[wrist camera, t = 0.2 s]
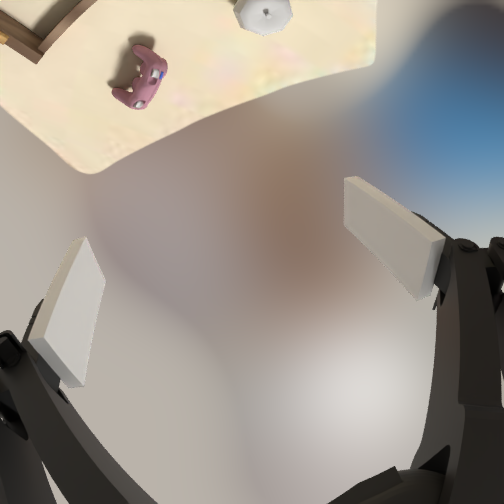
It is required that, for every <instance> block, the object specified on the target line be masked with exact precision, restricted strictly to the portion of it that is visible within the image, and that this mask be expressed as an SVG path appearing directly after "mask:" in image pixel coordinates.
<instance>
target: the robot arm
mask: <svg viewBox="0 0 504 504" xmlns="http://www.w3.org/2000/svg"><path fill="white" fill-rule="evenodd" d="M344 226H345V227H346V228H347V229H348V230H349V231H351V233H353V234H354V235H355V236H356V237H357V238H358V239H359V240H360V241H361V242H362V243H363V244H364V245H365V246H366V247H367V248H368V249H369V250H370V252H372V254H373V255H374V256H375V257H376V258H378V260H379V261H380V262H381V263H382V264H383V265H384V266H385V267H386V268H387V269H388V270H389V271H390V272H391V273H392V274H393V275H394V276H395V278H397V280H398V281H399V282H400V283H401V284H402V285H403V286H404V287H405V288H406V289H407V291H408V292H409V293H410V294H411V295H412V296H413V297H414V298H415V299H416V301H418V300H421V299H423V298H425V297H428V296H430V295H431V292H432V288H433V285H434V284H435V285H436V286H437V287H438V288H439V291H438V294H437V297H436V300H435V303H434V306H433V310H435V308H436V306H437V326H436V344H435V357H434V358H435V359H434V368H433V377H432V386H431V393H430V399H429V406H428V412H427V418H426V423H425V428H424V433H423V437H422V441H421V444H420V447H419V449H418V450H417V452H416V454H415V456H414V459H413V461H412V465H411V467H410V469H408V470H400V471H397V469H396V467H395V466H394V467H392V468H390V469H388V470H386V471H384V472H382V473H380V474H378V475H376V476H373V477H372V478H369V479H367V480H364V481H362V482H360V483H358V484H356V485H355V486H353V487H352V488H351V489H349V490H348V491H346V492H345V493H343V494H342V495H340V496H339V497H337V498H336V499H334V500H333V501H331V502H329V503H328V504H504V408H503V407H502V402H501V400H502V399H501V371H502V375H503V379H504V293H503V292H502V290H501V288H502V286H503V283H504V238H503V237H493V238H492V239H491V241H490V244H489V248H479V247H478V245H476V244H475V243H474V242H472V241H470V240H467V239H463V238H458V239H455V240H454V239H452V238H451V237H450V236H448V235H447V234H446V233H445V232H443V231H442V230H441V229H439V228H438V227H436V226H435V225H434V224H432V223H431V222H429V221H428V220H427V219H426V218H424V217H423V216H421V215H419V214H417V213H414V212H412V211H409V210H408V209H406V208H405V207H403V206H402V205H401V204H399V203H398V202H396V201H395V200H393V199H392V198H390V197H389V196H387V195H386V194H384V193H383V192H381V191H380V190H378V189H377V188H375V187H374V186H372V185H370V184H369V183H367V182H366V181H364V180H363V179H361V178H359V177H358V176H354V177H347V178H344ZM105 283H106V280H105V278H104V276H103V274H102V272H101V269H100V267H99V265H98V263H97V261H96V259H95V256H94V254H93V252H92V250H91V247H90V245H89V242H88V240H87V238H86V237H83V238H79V239H76V240H73V242H72V243H71V245H70V247H69V249H68V251H67V253H66V255H65V257H64V259H63V261H62V262H61V264H60V267H59V269H58V271H57V273H56V275H55V277H54V279H53V281H52V283H51V285H50V287H49V289H48V292H47V294H46V296H45V299H42V300H41V302H40V303H39V304H38V305H37V306H36V308H35V310H34V312H33V315H32V318H31V320H30V322H29V325H28V327H27V329H26V332H25V334H24V337H23V340H22V342H21V343H20V342H19V340H18V339H17V338H16V337H15V335H14V334H13V333H12V331H9V330H6V331H3V332H1V333H0V504H57V503H56V500H55V498H54V495H53V493H52V490H51V487H50V485H49V482H48V479H47V476H46V473H45V471H44V467H43V464H42V462H43V463H44V465H45V467H46V469H47V470H48V472H49V474H50V475H51V477H52V479H53V480H54V482H55V483H56V485H57V486H58V488H59V489H60V491H61V493H62V494H63V495H64V497H65V498H66V500H67V501H68V503H69V504H157V502H155V501H154V500H153V499H152V498H151V497H150V496H149V495H148V494H147V493H146V492H145V491H144V490H143V489H142V488H141V487H140V486H139V485H138V484H137V483H136V482H135V481H134V480H133V479H132V478H131V477H130V476H129V475H128V474H127V473H126V472H125V471H124V470H123V469H122V468H121V466H120V465H119V464H118V463H117V462H116V461H115V460H114V458H113V457H112V456H111V455H110V454H109V453H108V451H107V450H106V449H105V448H104V447H103V446H102V444H101V443H100V442H99V441H98V439H97V438H96V437H95V436H94V434H93V433H92V432H91V430H90V429H89V428H88V426H87V425H86V424H85V422H84V421H83V420H82V418H81V417H80V416H79V414H78V413H77V411H76V410H75V409H74V407H73V406H72V404H71V403H70V401H69V400H68V398H67V397H66V395H65V394H64V392H63V391H62V390H61V389H60V388H59V383H60V379H61V380H62V381H63V383H64V384H65V385H67V387H68V388H74V387H84V385H85V378H86V372H87V366H88V360H89V354H90V349H91V344H92V339H93V334H94V329H95V324H96V320H97V315H98V311H99V307H100V303H101V299H102V294H103V291H104V287H105ZM1 418H3V421H2V419H1ZM41 460H42V461H41Z"/></svg>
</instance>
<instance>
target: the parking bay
mask: <svg viewBox="0 0 504 504" xmlns="http://www.w3.org/2000/svg"><path fill="white" fill-rule="evenodd" d="M96 1H97V0H81V1H80V2H79V3H78V4H77V5H76V6H75V7H74V8H73V9H72V10H71V11H70V12H69V13H68V14H67V15H66V16H65V17H64V18H63V19H62V20H61V21H60V22H59V23H58V24H57V25H56V26H55V27H54V28H53V29H52V31H51V32H50V33H49V34H48V35H47V36H46V37H45V38H44V40H43V39H42V38H40V37H39V36H37V35H36V34H35V33H33V32H32V31H30V30H29V29H27V28H26V27H24V26H23V25H22V24H20V23H19V22H17V21H16V20H14V19H13V18H11V17H10V16H8V15H7V14H5V13H4V12H2V11H1V10H0V43H1V44H6V45H7V46H9V47H10V48H12V49H13V50H15V51H17V52H18V53H20V54H21V55H23V56H24V57H26V58H27V59H29V60H30V61H32V62H33V63H35V64H37V63H38V62H39V60H40V59H41V58H42V57H43V55H44V54H45V52H46V51H47V50H48V49H49V48H50V47H51V46H52V44H53V43H54V42H55V41H56V40H57V39H58V38H59V37H60V36H61V35H62V34H63V33H64V31H65V30H66V29H67V28H68V27H69V26H70V25H71V24H72V23H73V22H74V21H75V20H76V19H77V18H78V17H79V16H81V15H82V14H83V13H84V12H85V11H86V10H87V9H88V8H89V7H90V6H91V5H92V4H94V3H95V2H96Z"/></svg>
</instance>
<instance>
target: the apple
mask: <svg viewBox="0 0 504 504" xmlns="http://www.w3.org/2000/svg"><path fill="white" fill-rule="evenodd" d="M233 11H234V13H235V16H236V18H237V20H238V23H239V25H240V27H241V28H243V29H245V30H248V31H251V32H254V33H257V34H259V35H262V36H265V35H268V34H272V33H275V32H279V31H282V30H283V29H284V28H285V26H286V25H287V23H288V22H289V21H290V19H291V18H292V17H293V14H292V10H291V6H290V2H289V0H237V2H236V3H235V5H234V9H233Z"/></svg>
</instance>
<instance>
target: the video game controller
mask: <svg viewBox="0 0 504 504" xmlns="http://www.w3.org/2000/svg"><path fill="white" fill-rule="evenodd" d="M132 50H133V52H134V54H136V55H137V56H138V57H139V58H141V59H142V60H143V61H144V62H143V63H142V64H141V67H140V73H141V74H142V75H143V76H142V77H136V78H134V80H133V82H132V89H133V92H128V91H126V90H124V89H121V88H113V89H112V95H113V96H114V97H115V98H116V99H118V100H119V101H121V102H122V103H124V104H125V105H126V106H128V107H129V108H132V109H136V110H140V109H145V108H146V107H147V105H148V104H149V102H150V101H151V100H152V98H153V97H154V95H155V94H156V92H157V90H158V88H159V86H160V83H161V80H162V78H164V76H165V75H166V73H167V68H168V66H167V62H166V60H165V59H164V58H160V56H158V55H157V54H156V53H155V52H153V51H152V50H150V49H149V48H147V47H145V46H142V45H134V46H133V47H132Z"/></svg>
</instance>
